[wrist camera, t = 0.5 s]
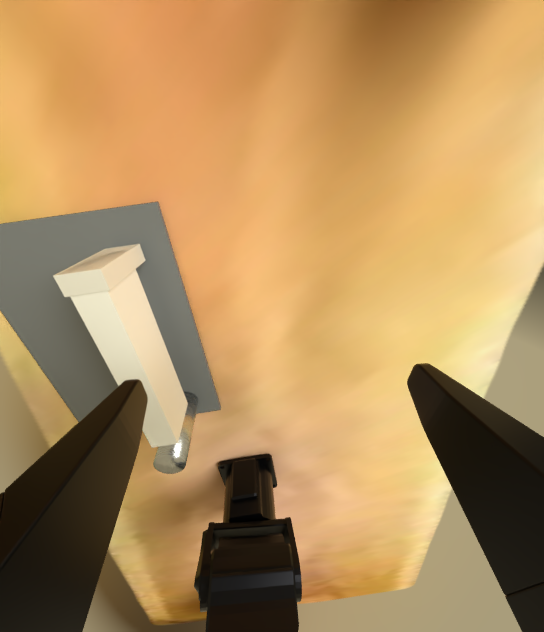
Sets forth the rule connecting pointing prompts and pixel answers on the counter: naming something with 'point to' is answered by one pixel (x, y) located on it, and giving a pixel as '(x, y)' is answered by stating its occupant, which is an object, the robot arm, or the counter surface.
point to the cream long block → (128, 334)
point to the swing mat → (63, 317)
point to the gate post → (176, 454)
